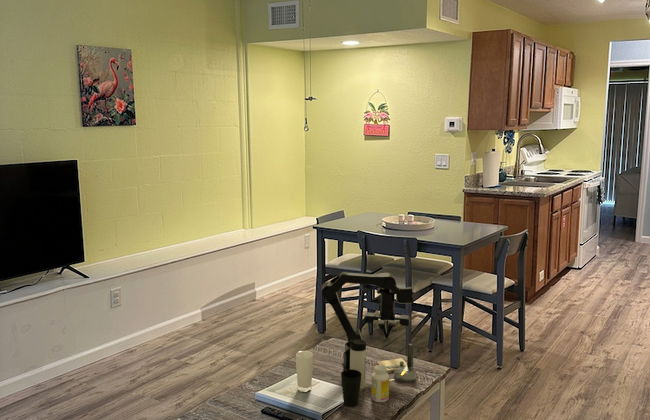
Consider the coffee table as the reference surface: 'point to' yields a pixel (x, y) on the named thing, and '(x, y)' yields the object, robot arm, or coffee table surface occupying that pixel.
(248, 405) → the coffee table surface
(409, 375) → the grey piece
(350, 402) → the cup
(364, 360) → the travel mug
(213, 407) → the coffee table surface
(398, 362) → the stand
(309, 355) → the drinking glass
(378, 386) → the supplement bottle
